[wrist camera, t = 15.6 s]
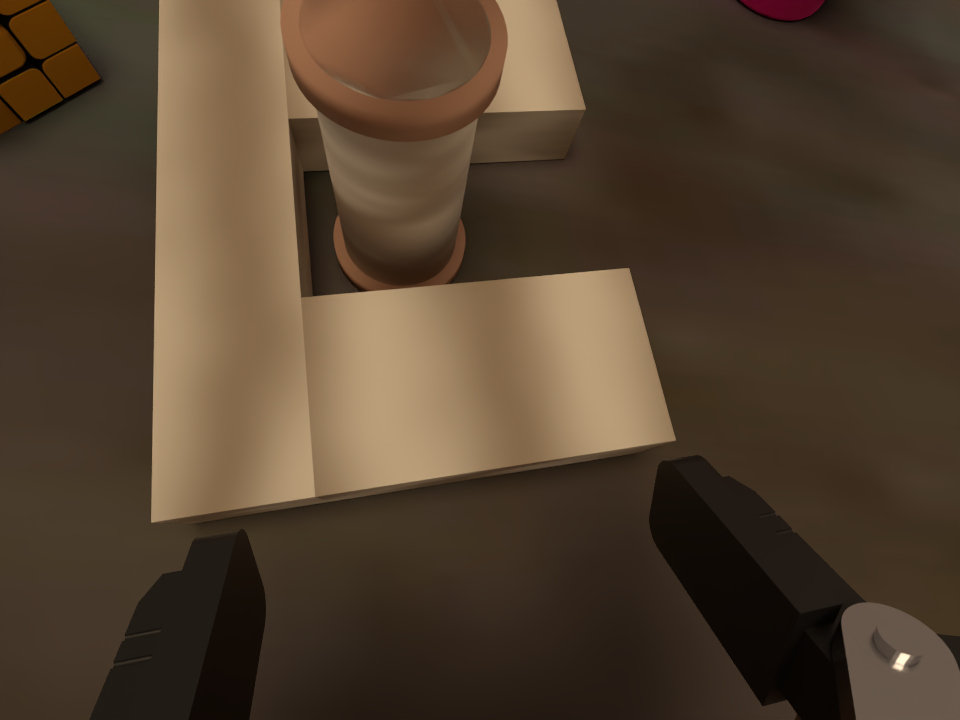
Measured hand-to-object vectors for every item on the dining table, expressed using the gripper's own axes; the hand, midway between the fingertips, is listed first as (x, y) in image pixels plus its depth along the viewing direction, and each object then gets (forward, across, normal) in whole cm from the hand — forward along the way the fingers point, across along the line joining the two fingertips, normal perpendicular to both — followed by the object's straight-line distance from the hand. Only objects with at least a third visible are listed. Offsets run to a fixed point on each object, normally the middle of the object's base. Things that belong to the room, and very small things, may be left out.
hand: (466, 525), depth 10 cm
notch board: (+14, 0, -2) cm, 14 cm away
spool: (+14, 0, -2) cm, 14 cm away
